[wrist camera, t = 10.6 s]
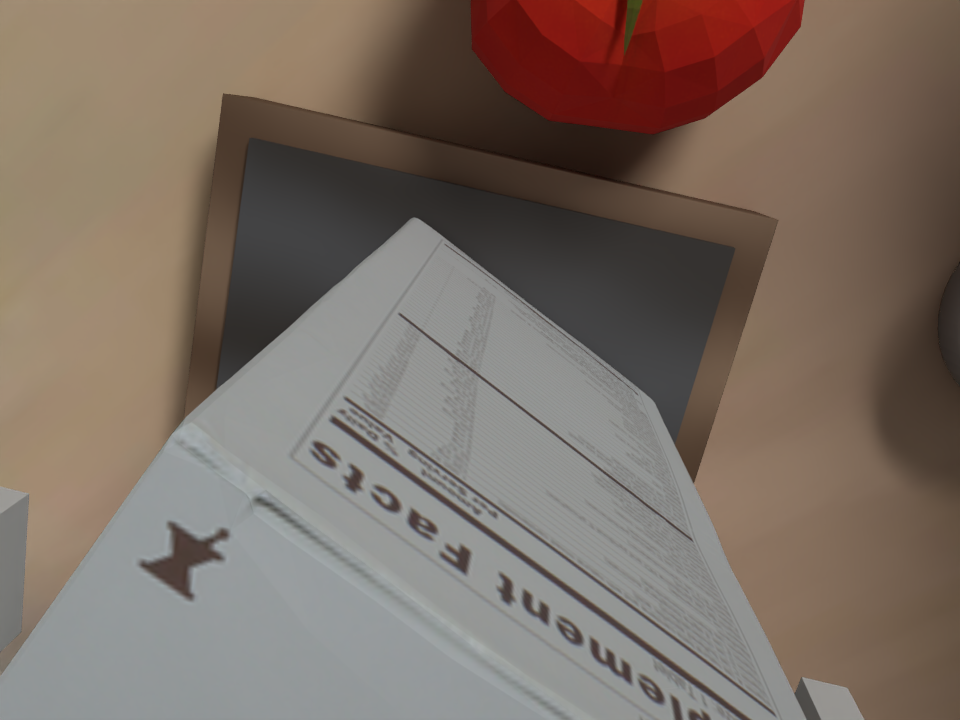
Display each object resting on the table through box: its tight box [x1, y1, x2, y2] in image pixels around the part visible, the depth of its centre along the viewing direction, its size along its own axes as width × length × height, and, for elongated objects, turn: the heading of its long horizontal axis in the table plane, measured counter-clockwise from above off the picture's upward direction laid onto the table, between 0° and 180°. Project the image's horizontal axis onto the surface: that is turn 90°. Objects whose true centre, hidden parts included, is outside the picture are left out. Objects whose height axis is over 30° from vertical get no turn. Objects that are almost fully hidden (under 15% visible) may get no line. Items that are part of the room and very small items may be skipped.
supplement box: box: [0, 217, 807, 720], centre depth 17 cm, size 10×9×17 cm
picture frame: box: [184, 94, 778, 484], centre depth 26 cm, size 16×16×3 cm
